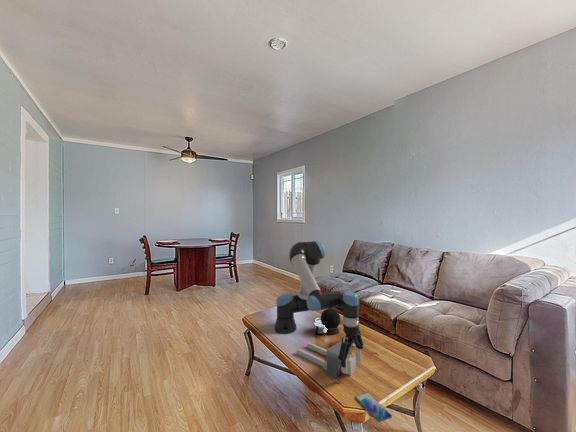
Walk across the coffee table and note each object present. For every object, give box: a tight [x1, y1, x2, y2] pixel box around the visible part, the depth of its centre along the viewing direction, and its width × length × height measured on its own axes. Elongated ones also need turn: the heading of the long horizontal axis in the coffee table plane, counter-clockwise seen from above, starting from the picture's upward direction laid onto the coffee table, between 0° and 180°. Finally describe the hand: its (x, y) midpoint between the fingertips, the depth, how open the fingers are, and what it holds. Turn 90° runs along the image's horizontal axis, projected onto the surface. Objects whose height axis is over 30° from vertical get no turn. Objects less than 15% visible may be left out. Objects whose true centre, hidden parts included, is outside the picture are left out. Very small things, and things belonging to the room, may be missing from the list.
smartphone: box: [354, 391, 393, 423], centre depth 108 cm, size 7×1×15 cm
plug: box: [325, 354, 357, 376], centre depth 137 cm, size 16×5×7 cm, turn 45°
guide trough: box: [296, 342, 327, 368], centre depth 146 cm, size 22×11×2 cm, turn 46°
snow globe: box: [320, 308, 341, 336], centre depth 178 cm, size 13×13×15 cm
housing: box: [321, 339, 353, 379], centre depth 137 cm, size 8×19×10 cm, turn 136°
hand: (351, 366), depth 132 cm, fingers open, 13 cm apart
